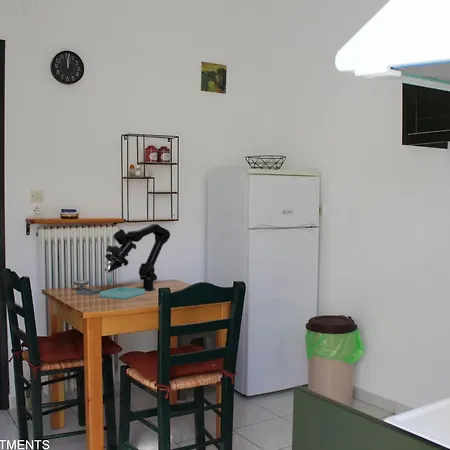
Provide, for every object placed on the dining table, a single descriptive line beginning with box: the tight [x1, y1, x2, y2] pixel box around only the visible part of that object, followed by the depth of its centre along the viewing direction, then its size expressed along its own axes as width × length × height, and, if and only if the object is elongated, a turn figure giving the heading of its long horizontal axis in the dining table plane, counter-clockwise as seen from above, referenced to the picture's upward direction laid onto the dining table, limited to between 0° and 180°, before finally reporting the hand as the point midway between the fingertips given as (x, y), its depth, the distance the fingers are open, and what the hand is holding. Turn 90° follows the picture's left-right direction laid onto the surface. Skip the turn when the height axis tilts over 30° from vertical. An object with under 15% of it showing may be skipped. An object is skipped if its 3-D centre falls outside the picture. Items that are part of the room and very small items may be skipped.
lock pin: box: [104, 260, 113, 284], centre depth 315 cm, size 4×4×12 cm
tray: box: [99, 286, 146, 300], centre depth 315 cm, size 20×16×3 cm
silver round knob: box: [73, 279, 90, 290], centre depth 336 cm, size 9×9×5 cm
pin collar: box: [75, 288, 103, 296], centre depth 322 cm, size 10×10×2 cm
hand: (106, 271), depth 314 cm, fingers closed on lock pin, 4 cm apart
